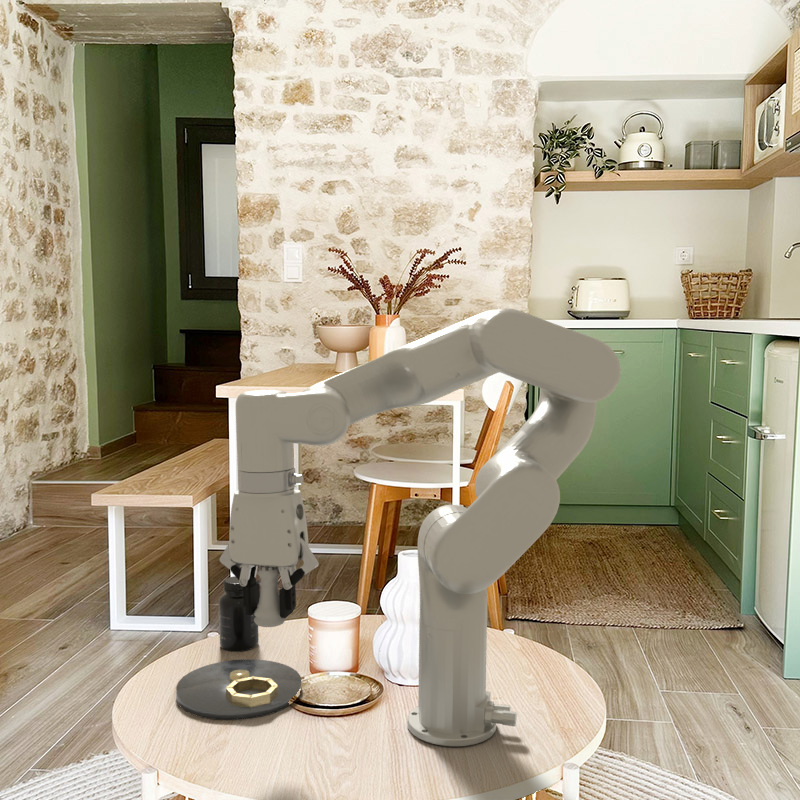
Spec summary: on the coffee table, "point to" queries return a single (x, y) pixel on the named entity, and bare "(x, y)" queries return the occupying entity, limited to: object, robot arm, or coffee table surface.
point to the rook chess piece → (268, 598)
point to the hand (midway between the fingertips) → (269, 612)
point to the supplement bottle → (235, 619)
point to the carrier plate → (238, 689)
